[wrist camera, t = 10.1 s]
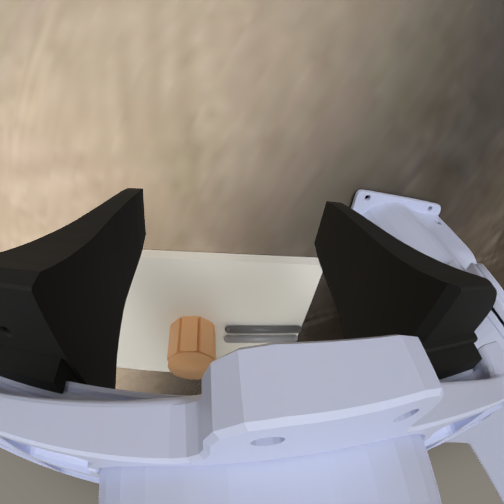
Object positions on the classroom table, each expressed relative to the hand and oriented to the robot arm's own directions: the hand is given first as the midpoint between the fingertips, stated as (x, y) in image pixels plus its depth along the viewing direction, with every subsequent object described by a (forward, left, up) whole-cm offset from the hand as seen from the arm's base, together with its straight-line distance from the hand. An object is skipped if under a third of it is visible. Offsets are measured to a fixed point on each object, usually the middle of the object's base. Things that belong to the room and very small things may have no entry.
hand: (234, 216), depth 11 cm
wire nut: (+2, +18, -8) cm, 20 cm away
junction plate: (+2, +18, -9) cm, 20 cm away
